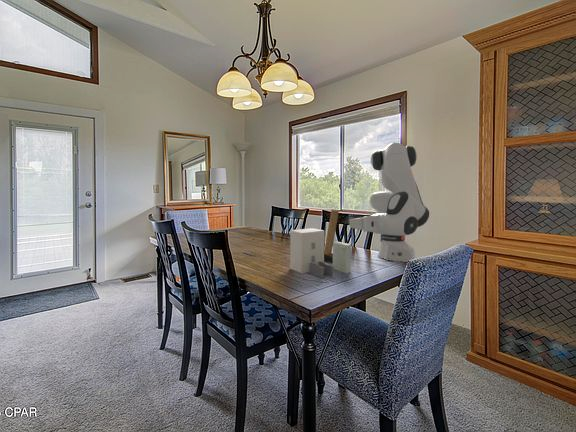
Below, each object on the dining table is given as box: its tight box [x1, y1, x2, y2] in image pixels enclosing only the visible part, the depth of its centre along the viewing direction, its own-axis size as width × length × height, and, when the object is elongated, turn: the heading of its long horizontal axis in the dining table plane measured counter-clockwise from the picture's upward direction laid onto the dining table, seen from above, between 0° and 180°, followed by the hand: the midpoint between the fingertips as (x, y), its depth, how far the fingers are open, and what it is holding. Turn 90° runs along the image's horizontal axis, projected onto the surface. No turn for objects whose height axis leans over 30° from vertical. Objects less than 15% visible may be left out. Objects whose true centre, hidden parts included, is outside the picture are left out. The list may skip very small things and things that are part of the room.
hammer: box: [324, 209, 340, 264], centre depth 174 cm, size 20×5×30 cm, turn 46°
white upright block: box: [332, 241, 352, 274], centre depth 156 cm, size 10×4×14 cm, turn 33°
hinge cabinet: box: [289, 227, 334, 279], centre depth 154 cm, size 22×14×20 cm, turn 33°
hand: (358, 222), depth 144 cm, fingers open, 8 cm apart
